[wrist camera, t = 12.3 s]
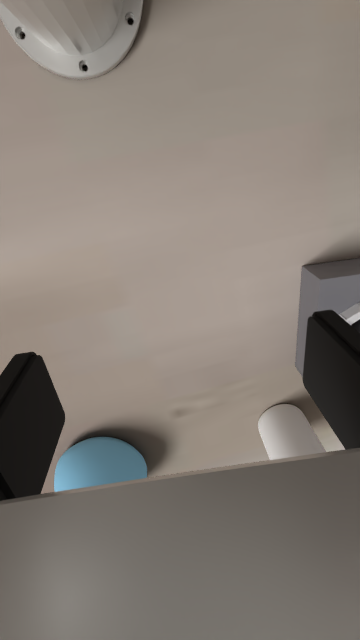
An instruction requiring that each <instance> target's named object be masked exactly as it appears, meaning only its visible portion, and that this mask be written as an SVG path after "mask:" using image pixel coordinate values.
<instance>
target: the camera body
mask: <svg viewBox="0 0 360 640" xmlns="http://www.w3.org/2000/svg"><path fill="white" fill-rule="evenodd" d="M331 309H332V310H333V311H335V312H336V313H337V314H338V315H339V316H341V317H342V318H343V319H344V320H345V321H346V322H348V323H349V324H350V325H352V324H353V323H354V322H356V321H358V320H359V319H360V258H356V259H349V260H342V261H335V262H328V263H321V264H314V265H307V266H302V274H301V289H300V304H299V318H298V333H297V348H296V362H295V367H296V368H297V370H298V371H299V373H300V374H301V376H302V377H303V368H304V356H305V344H306V332H307V321H308V318H309V317H310V316H312V315H313V313H314V312H316V311H323V310H331Z"/></svg>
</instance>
